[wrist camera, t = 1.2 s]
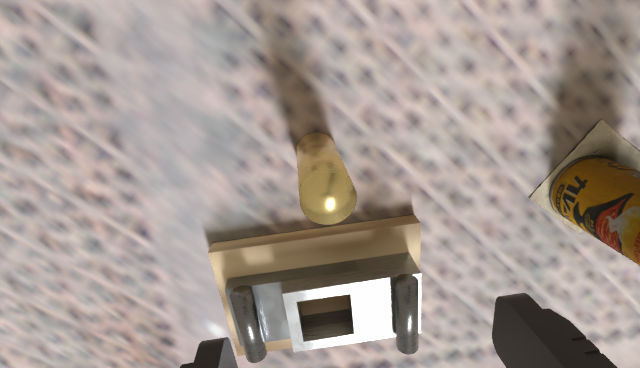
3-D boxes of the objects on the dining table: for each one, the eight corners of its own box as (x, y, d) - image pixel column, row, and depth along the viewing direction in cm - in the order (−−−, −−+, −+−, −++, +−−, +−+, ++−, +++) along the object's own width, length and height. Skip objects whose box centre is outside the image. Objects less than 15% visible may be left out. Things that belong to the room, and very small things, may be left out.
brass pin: (293, 135, 27) (296, 177, 18) (334, 129, 27) (354, 169, 18) (299, 172, 28) (303, 228, 20) (337, 167, 28) (358, 220, 20)
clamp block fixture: (212, 243, 30) (193, 292, 24) (414, 214, 30) (444, 255, 24) (239, 343, 34) (230, 404, 29) (414, 316, 35) (439, 371, 29)
